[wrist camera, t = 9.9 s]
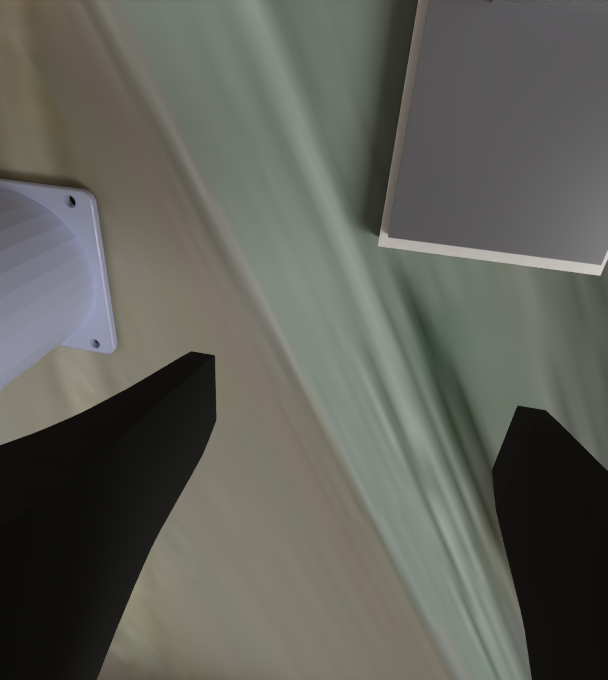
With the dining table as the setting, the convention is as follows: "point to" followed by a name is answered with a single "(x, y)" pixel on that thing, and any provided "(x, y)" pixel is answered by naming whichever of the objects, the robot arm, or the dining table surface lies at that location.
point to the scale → (503, 137)
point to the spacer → (561, 4)
